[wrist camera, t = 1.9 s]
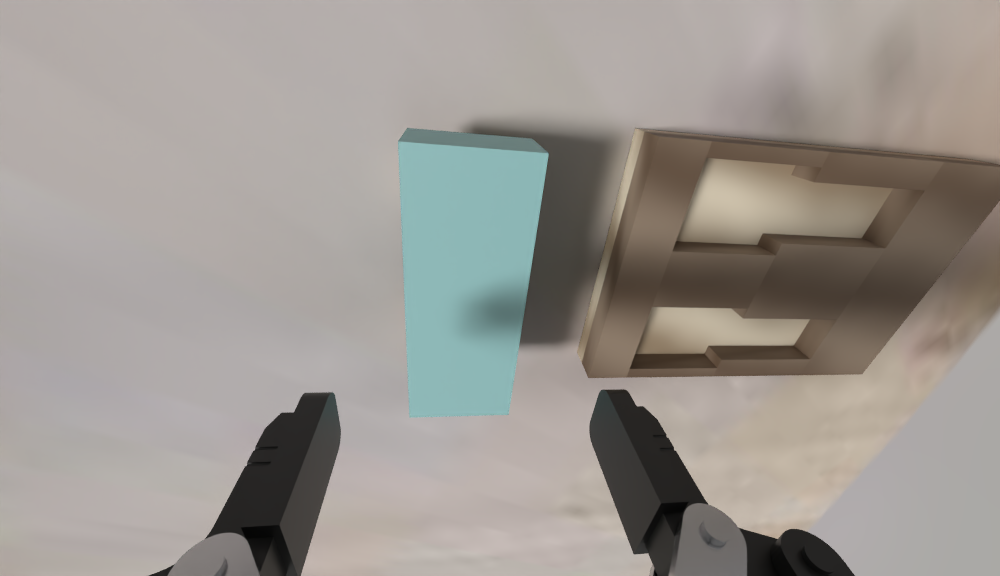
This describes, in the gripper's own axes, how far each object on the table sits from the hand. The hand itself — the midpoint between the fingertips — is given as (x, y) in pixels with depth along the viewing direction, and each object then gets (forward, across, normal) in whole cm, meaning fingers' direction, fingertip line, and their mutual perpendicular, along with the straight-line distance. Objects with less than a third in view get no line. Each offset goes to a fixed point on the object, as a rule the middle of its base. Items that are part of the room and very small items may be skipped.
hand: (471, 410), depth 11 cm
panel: (+11, 0, 0) cm, 11 cm away
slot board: (+11, -18, 0) cm, 21 cm away
